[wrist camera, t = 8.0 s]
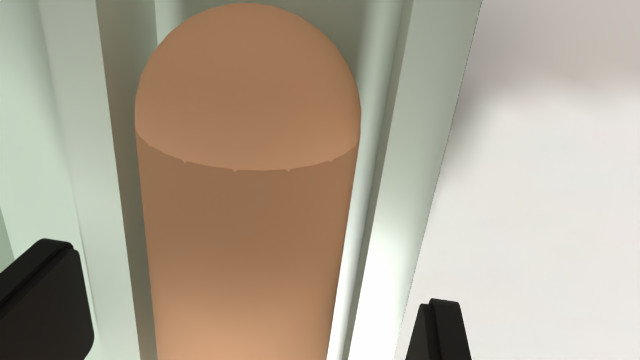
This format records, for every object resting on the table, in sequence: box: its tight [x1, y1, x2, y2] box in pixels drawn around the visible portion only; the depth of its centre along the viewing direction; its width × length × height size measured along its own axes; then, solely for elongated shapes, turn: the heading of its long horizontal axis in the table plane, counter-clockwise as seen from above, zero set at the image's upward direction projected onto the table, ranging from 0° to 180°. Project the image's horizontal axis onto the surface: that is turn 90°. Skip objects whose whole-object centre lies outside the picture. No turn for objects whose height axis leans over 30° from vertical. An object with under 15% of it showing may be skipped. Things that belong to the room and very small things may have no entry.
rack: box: [0, 0, 482, 360], centre depth 12 cm, size 20×18×3 cm
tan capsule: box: [134, 3, 361, 360], centre depth 11 cm, size 14×4×4 cm, turn 174°
